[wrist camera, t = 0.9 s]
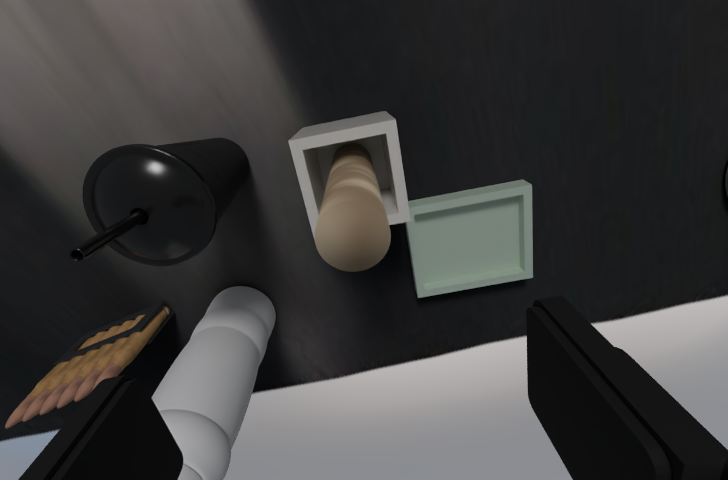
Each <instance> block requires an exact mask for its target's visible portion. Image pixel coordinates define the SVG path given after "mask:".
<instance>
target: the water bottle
mask: <svg viewBox="0 0 728 480" xmlns="http://www.w3.org/2000/svg"><path fill="white" fill-rule="evenodd" d="M275 319H276V313H275V309H274V306H273V304H272V302H271V301H270V300H269V298H268V297H267V296H266V295H264V294H263V293H262V292H260V291H258V290H256V289H254V288H251V287H246V286H235V287H230V288H227V289H225V290H223V291H222V292H220V293H219V294H218V295H217V296H216V297H215V298H214V299H213V301H212V302H211V304H210V306H209V308H208V309H207V311H206V314H205V316H204V317H203V318H202V320H201V321H200V322H199V323H198V325H197V326H196V328H195V330H194V331H193V333H192V336H191V338H190V341H189V342H188V344H187V345H186V346H185V347H184V349H183V350H182V351H181V353H180V354H179V355H178V357H177V358H176V360H175V361H174V363H173V364H172V366H171V367H170V369H169V370H168V372H167V373H166V375H165V376H164V378H163V380H162V381H161V383H160V384H159V386H158V388H157V389H156V391H155V393H154V394H153V396H152V400H153V402H154V403H155V405H156V407H157V409H158V411H159V412H160V414H161V416H162V418H163V420H164V421H165V423H166V425H167V427H168V428H169V430H170V432H171V434H172V436H173V437H174V439H175V441H176V443H177V445H178V446H179V448H180V450H181V452H182V454H183V467H182V470H181V473H180V475H179V478H178V480H223V478H224V477H225V475H226V472H227V470H228V467H229V463H230V457H231V449H232V446H233V444H234V442H235V440H236V437H237V435H238V432H239V430H240V427H241V424H242V422H243V419H244V416H245V413H246V410H247V407H248V404H249V401H250V398H251V394H252V391H253V388H254V384H255V380H256V376H257V372H258V367H259V365H260V363H261V361H262V359H263V357H264V354H265V351H266V348H267V342H268V339H269V337H270V335H271V333H272V330H273V327H274V324H275Z"/></svg>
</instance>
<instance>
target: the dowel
mask: <svg viewBox="0 0 728 480" xmlns="http://www.w3.org/2000/svg"><path fill="white" fill-rule="evenodd" d="M390 241H391V232H390V227H389V223H388V219H387V216H386V212H385V208H384V204H383V200H382V197H381V193H380V189H379V185H378V181H377V178H376V174H375V170H374V166H373V163H372V159H371V155H370V153H369V152H368V150H367V149H366V148H365V147H364V146H362V145H360V144H357V143H347V144H344V145H342V146H341V147H340V148H338V149H337V151H336V152H335V154H334V157H333V161H332V165H331V169H330V173H329V177H328V181H327V185H326V189H325V193H324V197H323V201H322V205H321V209H320V213H319V217H318V221H317V225H316V229H315V244H316V247H317V250H318V252H319V254H320V255H321V257H322V258H323V259H324V260H325V261H326V262H327V263H328V264H330V265H331V266H333V267H335V268H337V269H340V270H343V271H349V272H356V271H362V270H366V269H368V268H371V267H373V266H374V265H376V264H377V263H378V262H379V261H381V260H382V258H383V257H384V256H385V254H386V253H387V251H388V249H389V246H390Z"/></svg>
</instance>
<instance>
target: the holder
mask: <svg viewBox="0 0 728 480" xmlns="http://www.w3.org/2000/svg"><path fill="white" fill-rule="evenodd" d="M288 142H289V145H290V149H291V153H292V157H293V161H294V164H295V168H296V172H297V176H298V179H299V183H300V187H301V191H302V195H303V198H304V202H305V206H306V210H307V214H308V217H309V221H310V225H311V229H312V232H313V236H314V239H315V229H316V225H317V221H318V217H319V213H320V209H321V205H322V201H323V197H324V193H325V189H326V185H327V181H328V177H329V173H330V169H331V165H332V161H333V157H334V154H335V152H336V151H337V149H338V148H340V147H341V146H342V145H344V144H347V143H357V144H360V145H362V146H364V147H365V148H366V149H367V150H368V152H369V153H370V155H371V159H372V163H373V166H374V170H375V174H376V178H377V181H378V185H379V189H380V193H381V197H382V200H383V204H384V208H385V212H386V216H387V219H388V223H389V225H393V224H398V223H403V222H409V221H411V220H410V213H409V206H408V199H407V193H406V186H405V179H404V172H403V166H402V159H401V152H400V146H399V139H398V132H397V125H396V119H395V118H393V117H392V116H391V115H390V114H388V113H387V112H386V111H383V112H378V113H373V114H368V115H363V116H358V117H353V118H348V119H343V120H338V121H333V122H328V123H323V124H318V125H314V126H309V127H304V128H302V129H301V130H300V131H299V132H298V133H297V134H295V135H294V136H293V137H292V138H291V139H290V140H289V141H288Z"/></svg>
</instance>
